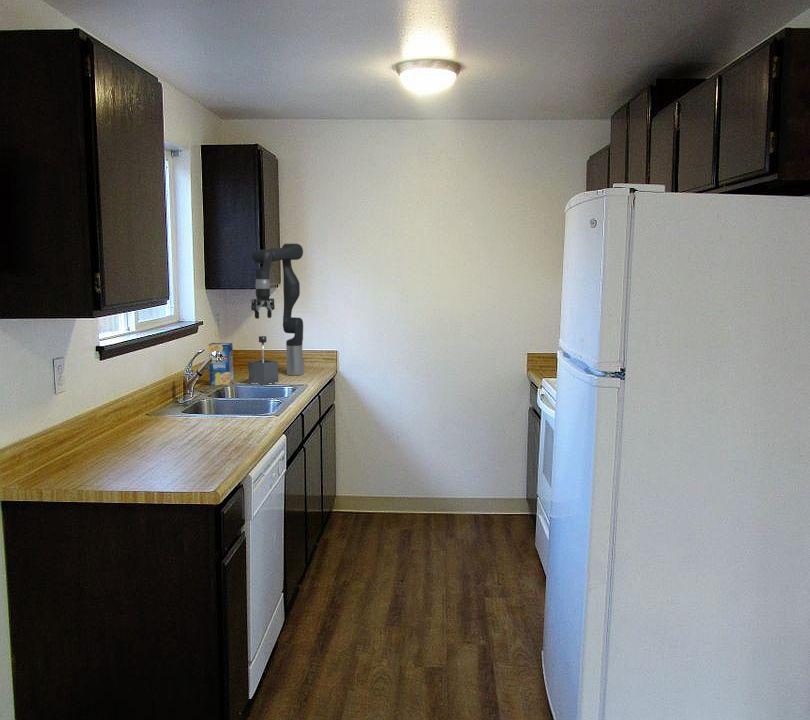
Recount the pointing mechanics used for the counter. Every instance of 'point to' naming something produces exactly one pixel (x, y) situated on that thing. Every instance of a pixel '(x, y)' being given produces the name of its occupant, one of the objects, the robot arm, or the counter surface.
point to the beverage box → (221, 364)
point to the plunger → (262, 339)
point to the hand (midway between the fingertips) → (263, 318)
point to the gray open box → (263, 371)
